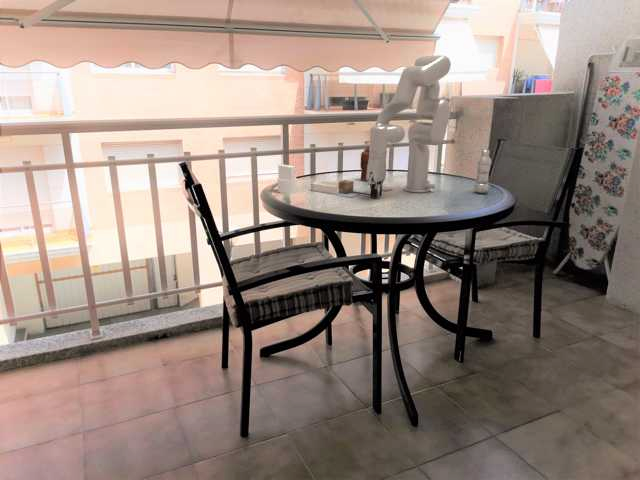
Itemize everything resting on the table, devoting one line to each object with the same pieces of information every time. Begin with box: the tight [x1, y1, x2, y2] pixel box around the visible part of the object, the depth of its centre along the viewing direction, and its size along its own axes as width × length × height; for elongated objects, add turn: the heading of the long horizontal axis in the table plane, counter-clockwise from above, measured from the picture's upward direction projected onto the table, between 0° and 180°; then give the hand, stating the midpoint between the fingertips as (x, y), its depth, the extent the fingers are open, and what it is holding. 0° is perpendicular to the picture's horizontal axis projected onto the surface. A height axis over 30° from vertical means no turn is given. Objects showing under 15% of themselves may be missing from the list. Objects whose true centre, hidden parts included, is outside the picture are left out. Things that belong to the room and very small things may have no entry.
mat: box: [335, 189, 366, 198], centre depth 218 cm, size 8×12×1 cm
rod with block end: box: [338, 179, 381, 199], centre depth 215 cm, size 20×5×6 cm, turn 55°
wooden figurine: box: [359, 145, 374, 182], centre depth 246 cm, size 12×6×18 cm, turn 101°
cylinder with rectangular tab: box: [277, 164, 298, 195], centre depth 221 cm, size 9×9×12 cm
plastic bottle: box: [473, 149, 492, 194], centre depth 219 cm, size 6×7×20 cm
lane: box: [310, 179, 339, 195], centre depth 224 cm, size 14×10×4 cm
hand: (375, 196), depth 211 cm, fingers closed on rod with block end, 3 cm apart
